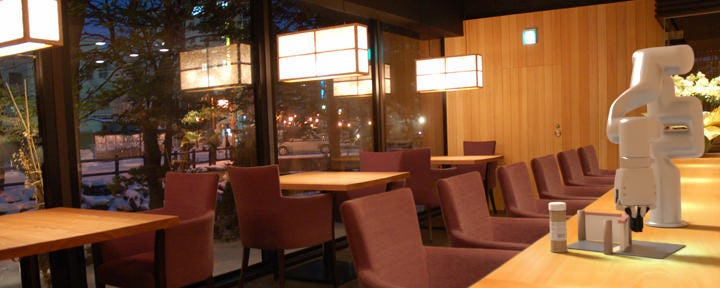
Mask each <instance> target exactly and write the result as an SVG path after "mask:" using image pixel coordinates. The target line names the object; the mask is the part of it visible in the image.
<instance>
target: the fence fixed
mask: <svg viewBox="0 0 720 288" xmlns="http://www.w3.org/2000/svg"><path fill="white" fill-rule="evenodd" d="M576 211H577V212H576V213H577V214H576V215H577V217H576V218H577V242H578V241H581V240H586V239H594V240H604V253H603V255H607V256H608V255H609V256H612V255H614V254H613V241H614V242H620V232H619V223H618V220H619V219H620V218H621V217H622V216H623V215H628V214H626V213H625V212H604V211H589V210H586V209H585V210H584V209H579V210H576ZM632 232H633V231H631V228H630V216H629V219H628V234H629V244H628V245H631V244H632V240H633V238H632V237H633V235H632V234H633V233H632Z"/></svg>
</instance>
